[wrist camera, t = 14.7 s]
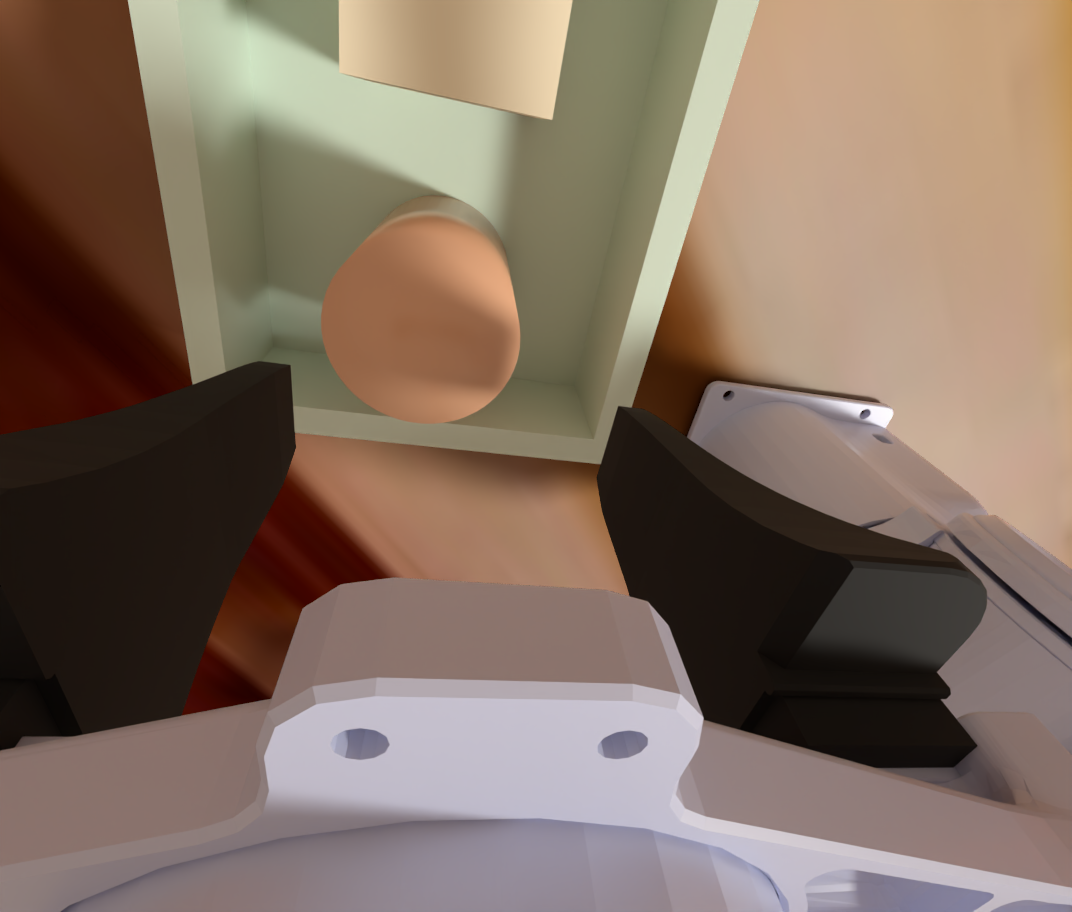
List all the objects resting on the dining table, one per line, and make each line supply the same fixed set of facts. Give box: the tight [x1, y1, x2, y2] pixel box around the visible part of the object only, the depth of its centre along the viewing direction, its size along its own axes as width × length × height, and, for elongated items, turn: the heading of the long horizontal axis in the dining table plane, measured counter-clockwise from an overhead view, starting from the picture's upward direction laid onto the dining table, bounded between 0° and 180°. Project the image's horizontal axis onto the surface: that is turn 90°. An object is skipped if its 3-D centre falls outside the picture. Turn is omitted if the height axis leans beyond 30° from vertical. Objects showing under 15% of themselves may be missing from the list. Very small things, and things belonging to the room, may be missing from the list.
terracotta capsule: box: [321, 195, 520, 424], centre depth 17 cm, size 5×5×7 cm
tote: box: [128, 0, 759, 464], centre depth 16 cm, size 14×18×5 cm
